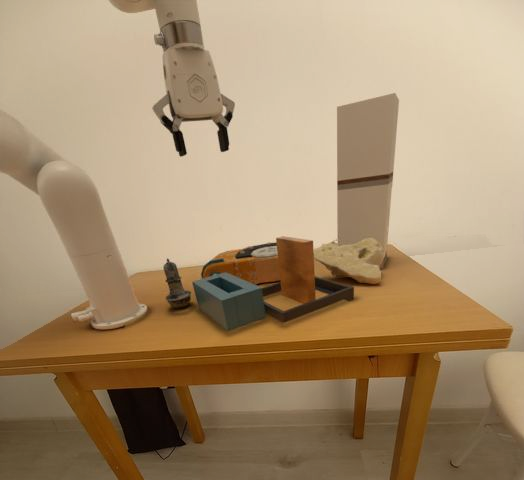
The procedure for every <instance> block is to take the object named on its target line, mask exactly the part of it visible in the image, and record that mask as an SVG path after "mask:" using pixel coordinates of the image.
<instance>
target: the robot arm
mask: <svg viewBox="0 0 524 480" xmlns="http://www.w3.org/2000/svg"><path fill="white" fill-rule="evenodd" d="M108 1H109V3H110V4H111V5H112V6H113V7H114V8H115V9H116V10H118V11H120V12H122V13H127V14H139V13H142V12H147V11H152V10H155V15H156V19H157V23H158V27H159V33H158V34H154V35H153V40H154V44H155V45H156V46H160V47H161V49H162V57H161V59H162V71H163V79H164V87H165V93H166V94H165V95H164V96H162V97H161V98H160V99H159V100H158V101H156V102H155V103H154V104H153V105H152V108H151V109H152V111H153V113H154V114H155V116H156V117H157V118H158V120H159V121H160V124H161V125H162V126H163V127H164V128H165V129H167V130H168V132H169V134H171V135H172V139H173V143H174V148H175V151H176V152H177V153H178V155H179V157H181V158H182V157H184V156H187V154H188V152H187V147H186V142H185V137H184V134H183V132H182V130H180V127H181V126H182V123H184V122H185V123H186V122H187V123H188V122H203V121H212V122H213V123H214V124H215V126H216V127H217V128H218V130H217V133H216V134H217V139H218V144H219V146H218V147H219V151H220V152H221V153H224V152H227V151H230V139H229V132H228V128H229V125H230V124H231V121H232V119H233V117H234V115H233V114H234V111H235V106H236V104H235V102H234V100H232V99H230V98H229V97H227V96H226V95H224V94H222V93H221V88H220V85H219V80H218V76H217V71H216V68H215V65H214V62H213V57H212V55H211V52H210V50H207V49H206V48H205V44H204V37H203V32H202V31H203V30H202V25H201V20H200V19H201V18H200V13H199V7H198V1H197V0H108ZM167 106H168V109H169V113H170V116H171V118H172V119H170V118H169V117H168V116H167V115H166V114H165V112H164V109H165V107H167ZM224 107H225V114H224V115H223V112H224ZM0 173H1V174H5V175H8V177H10V178H12V179H13V180H15V181H16V182H18V183H19V184H21V185H22V186H24V187H25V188H27V189H28V190H30V191H31V192H33V193H34V194H36V195H38V196H39V198H40V201H41V203H42V205H43V207H44V209H45V211H46V213H47V215H48V217H49V219H50V220H51V223H52V224H53V226H54V228H55V230H56V232H57V234H58V236H59V238H60V240H61V242H62V245H63V247H64V249H65V251H66V254H67V256H68V257H69V259H70V261H71V264H72V266H73V269H74V271H75V272H76V274H77V278H78V279H79V282H80V284H81V287H82V288H83V290H84V293H85V295H86V297H87V299H88V302H89V307H86V308H85V310H80V311H75V312H72V313H70V315H71V317H72V320H73V321H74V322H75V323H76V322H79V323H83V322H86V321H90V324H91V326H92V328H93V329H95V330H113V329H118V328H121V327H125V326H126V325H125V324H127V323H130V322H133V321H135V320H137V319H139V318H141V317H142V316H144V315H145V314H146V313H147V312H148V306H147V305H146V304H143V303H139V300H138V299H137V295H136V293H135V290H134V287H133V285H132V282H131V280H130V277H129V273H128V271H127V268H126V265H125V263H124V259H123V258H122V255H121V251H120V249H119V247H118V244H117V241H116V238H115V236H114V232H113V230H112V227H111V225H110V222H109V220H108V217H107V214H106V211H105V209H104V208H105V207H104V205H103V203H102V199H101V196H100V193H99V191H98V187H97V185H96V183H95V182H94V180H93V178H92V177H91V176H90V174H89V173H88V172H87V171H86V170H85V169H83V168H82V167H80V166H79V165H77V164H75V163H73V162H70V161H69V160H67V158H65V157H64V156H62V155H61V154H60V153H59V152H57V151H56V150H55V149H53V148H52V147H51V146H50V145H48V144H47V143H45V141H43V140H42V139H40V138H39V136H37V135H36V134H34V133H33V132H32V131H31V130H30V129H28V127H27V126H25V125H24V124H23V123H22V122H21V121H20V120H18V119H17V118H15V117H14V116H12V115H11V114H9V113H7V112H5V111H4V110H3V109H1V108H0Z"/></svg>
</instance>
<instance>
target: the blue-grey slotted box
mask: <svg viewBox="0 0 524 480" xmlns="http://www.w3.org/2000/svg"><path fill="white" fill-rule="evenodd" d="M191 283H192V287H193V291H194V296H195V300H196V302H197V306H198V308H199V309H200V310H201V311H202V312H203V313H205V314H206V315H207V316H208V317H210V319H212V320H213V321H214V322H216V323H217V324H218V325H220V326H221V327H222V328H223V329H224V330H226V331H227V332H230V331H233V330H235V329H238V328H241V327H244V326H246V325H249V324H252V323H255V322H258V321H260V320H262V319H266V318H267V316H266V313H265V308H264V302H265V301H264V297H263V294H262V288H263V287H261V286H258V284H255V285H254V284H252V283H250V282H247V281H245V280H243V279H240V278H238V277H236V276H233V275H231V274H229V273H226V272H225V273H221V274H218V275H214V276H210V277H207V278H203V279H202V278H201V279H197V280H193V281H191Z"/></svg>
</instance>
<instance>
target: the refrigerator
mask: <svg viewBox="0 0 524 480" xmlns="http://www.w3.org/2000/svg"><path fill="white" fill-rule="evenodd" d="M399 105H400V99H399V97H398V95H397V93H396V92H393V93H389V94H385V95H381V96H377V97H376V96H375V97H373V98H372V97H371V98H368V99H364V100H359V101H355V102H352V103H351V102H350V103H348V104H343V105H339V106H336V197H337V198H336V201H337V205H336V206H337V207H336V209H337V210H336V211H337V212H336V213H337V214H336V215H337V217H336V219H337V220H336V221H337V232H336V233H337V236H336V237H337V238H336V239H337V244H338V246H341V245H352V244H356V243H358V242H360V241H362V240H364V239H367V238H373V239H375V240H376V241H378V242H379V243H380V245H381V246H382V247H383V252H384V257H383V258H384V260H383V262H382V264H381V266H380V267H379V268H380V270H383V269H384V266H385V264H386V261H387V257H388V243H389V242H388V240H389V228H390V216H391V201H392V189H393V183H394V182H393V180H394V169H395V168H394V167H395V156H396V143H397V131H398V119H399V108H400V107H399Z"/></svg>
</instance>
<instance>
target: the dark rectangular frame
mask: <svg viewBox="0 0 524 480" xmlns="http://www.w3.org/2000/svg"><path fill="white" fill-rule="evenodd" d="M261 288H262V294H263V298H264V297H267V296H271V295H274V294H277V293H280V292H282V291H281V282H280V281H278V282H277V283H273V284H270V285H267V286H264V287H261ZM315 291H318V292H320V293H323V294H326V295H324V296H321V297H319V298H316V300H313V301H310V302H307V303H305V304H303V303H301V304H299V305H297V306H295V307H291V308H288V309H285V310H283V309H281V308H278V307H276V306H275V305H272V304H271V303H268V302H266V301H264V308H265V314H267V315H269V316H270V317H272V318H274V319H275V320H277V321H279V322H281V323H286V322H289V321H292V320H294V319H297V318H299V317H303V316H306V315H308V314H311V313H313V312H315V311H318V310H320V309H323V308H325V307H328V306H330V305H331V306H332V305H334V304H336V303H338V302H342V301H343V300H344V301H347V302H350V301H352V300H354V299H355V287H354V286H351V285H348V284H344V283H341V282H337V281H334V280H331V279H327V278H324V277H319V276H316V275H315Z"/></svg>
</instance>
